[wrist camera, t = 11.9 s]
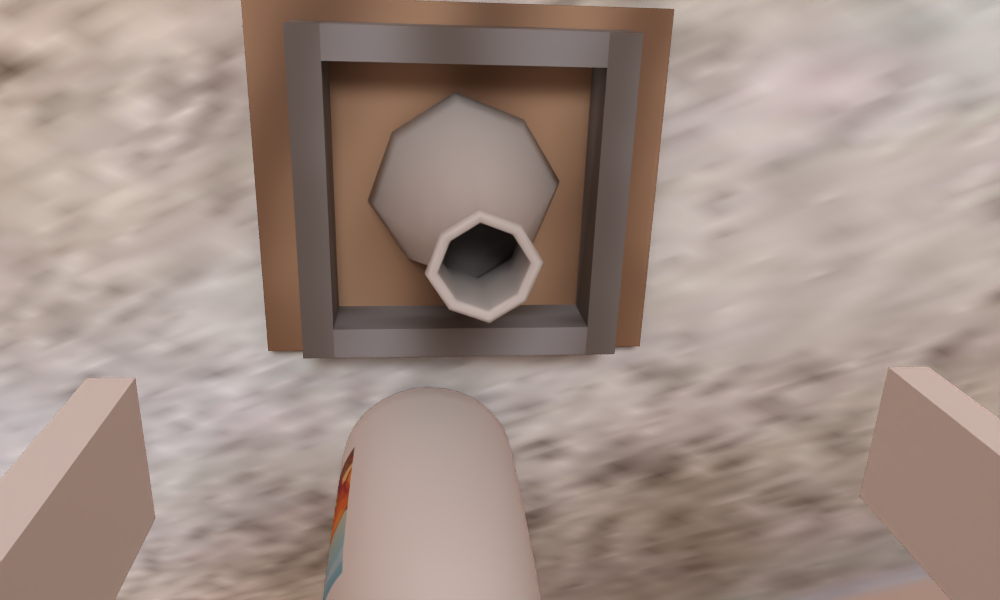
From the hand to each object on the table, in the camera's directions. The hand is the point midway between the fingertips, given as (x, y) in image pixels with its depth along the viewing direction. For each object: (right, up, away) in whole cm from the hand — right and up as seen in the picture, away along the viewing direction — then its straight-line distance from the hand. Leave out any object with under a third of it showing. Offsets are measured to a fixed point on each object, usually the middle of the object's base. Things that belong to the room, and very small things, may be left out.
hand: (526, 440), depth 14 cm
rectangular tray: (-2, +7, +19) cm, 20 cm away
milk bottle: (-4, -5, +24) cm, 24 cm away
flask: (-2, +7, +18) cm, 20 cm away
